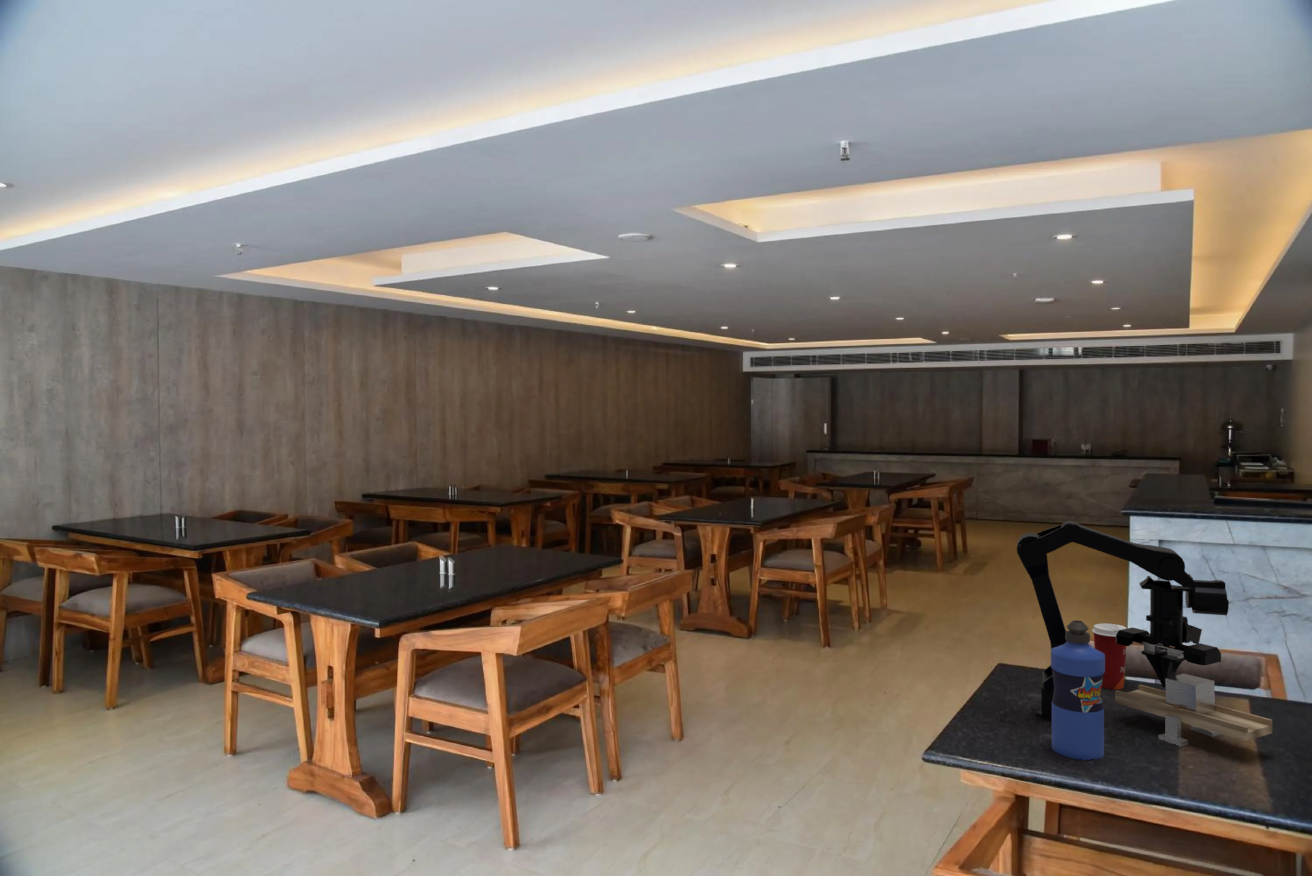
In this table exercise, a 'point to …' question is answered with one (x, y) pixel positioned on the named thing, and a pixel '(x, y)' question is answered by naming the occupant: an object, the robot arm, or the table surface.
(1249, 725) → the oak beam
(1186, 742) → the pivot stand
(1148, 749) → the table surface
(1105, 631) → the paper cup
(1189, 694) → the metal block
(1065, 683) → the water bottle
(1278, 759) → the table surface
